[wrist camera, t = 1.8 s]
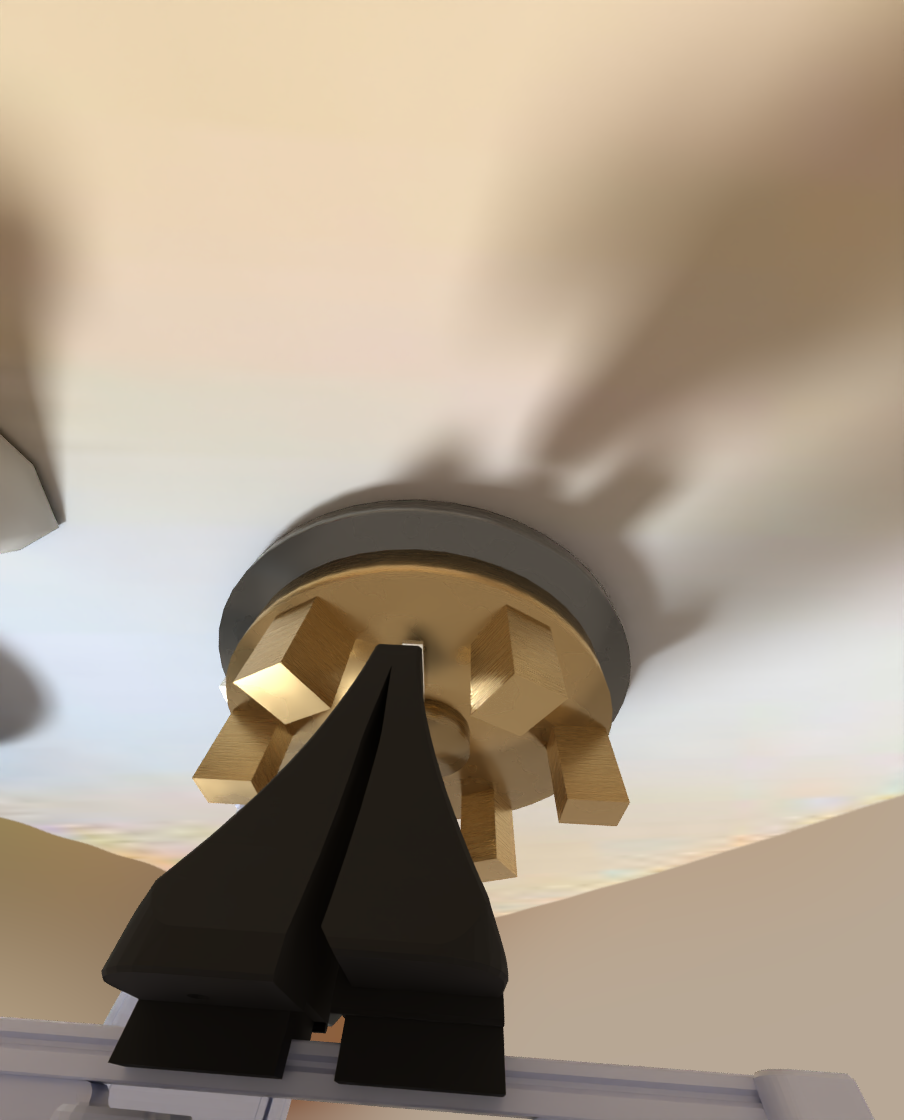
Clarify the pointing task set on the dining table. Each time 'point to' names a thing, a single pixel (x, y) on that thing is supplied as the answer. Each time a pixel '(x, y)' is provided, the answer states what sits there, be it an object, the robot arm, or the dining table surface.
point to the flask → (21, 502)
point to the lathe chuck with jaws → (431, 689)
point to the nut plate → (435, 532)
